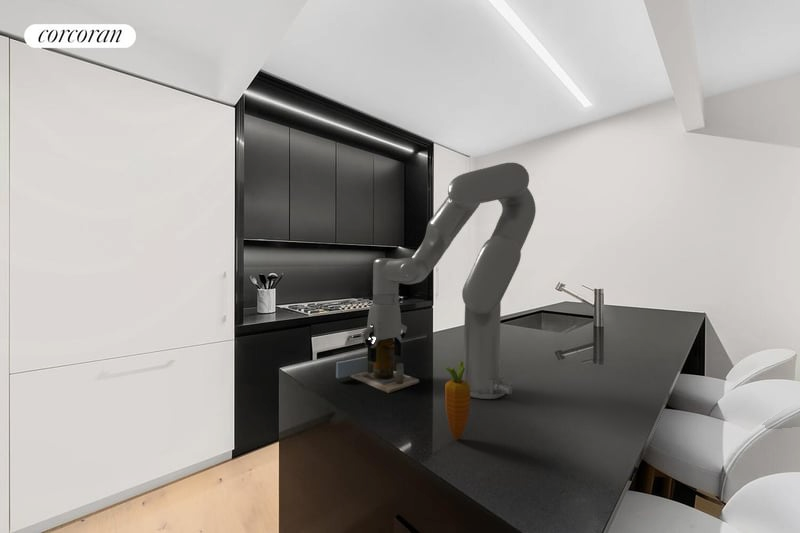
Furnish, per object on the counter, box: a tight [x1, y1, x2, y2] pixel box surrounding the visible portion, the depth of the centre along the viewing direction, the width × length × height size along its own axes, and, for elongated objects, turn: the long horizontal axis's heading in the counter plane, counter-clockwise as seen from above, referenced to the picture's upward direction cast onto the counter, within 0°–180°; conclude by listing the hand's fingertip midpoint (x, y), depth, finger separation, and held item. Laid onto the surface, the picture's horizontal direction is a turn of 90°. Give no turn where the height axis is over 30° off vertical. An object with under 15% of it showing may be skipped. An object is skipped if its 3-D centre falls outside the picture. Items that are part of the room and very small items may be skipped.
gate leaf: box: [335, 356, 368, 379], centre depth 99 cm, size 10×1×4 cm, turn 130°
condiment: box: [367, 338, 396, 382], centre depth 99 cm, size 7×8×12 cm
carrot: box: [444, 360, 471, 441], centre depth 65 cm, size 5×5×15 cm
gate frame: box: [350, 360, 420, 394], centre depth 99 cm, size 17×12×6 cm
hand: (384, 358), depth 99 cm, fingers open, 9 cm apart
